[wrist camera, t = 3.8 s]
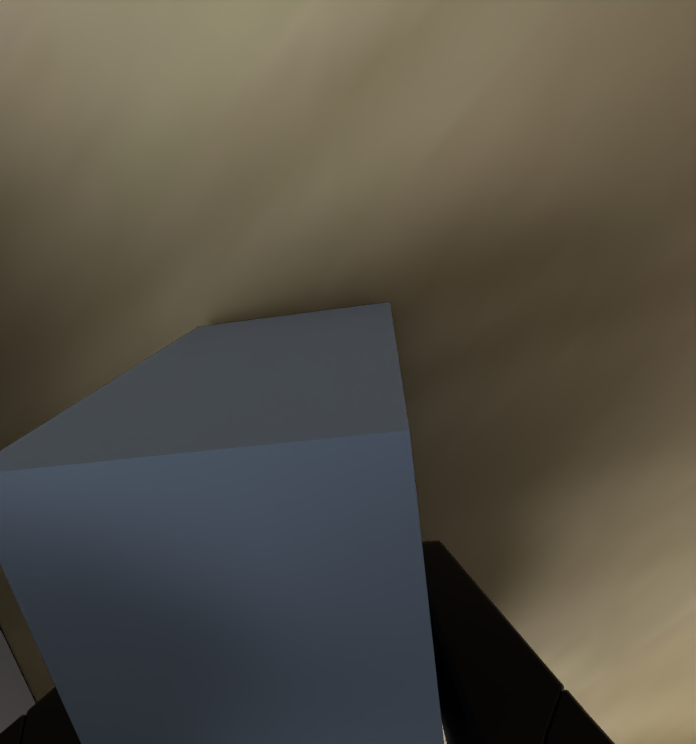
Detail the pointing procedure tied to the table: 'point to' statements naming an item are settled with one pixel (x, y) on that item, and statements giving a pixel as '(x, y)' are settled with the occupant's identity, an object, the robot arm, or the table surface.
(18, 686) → the grey hollow box
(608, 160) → the table surface
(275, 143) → the table surface
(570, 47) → the table surface
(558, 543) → the table surface
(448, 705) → the robot arm
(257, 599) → the blue rectangular block
